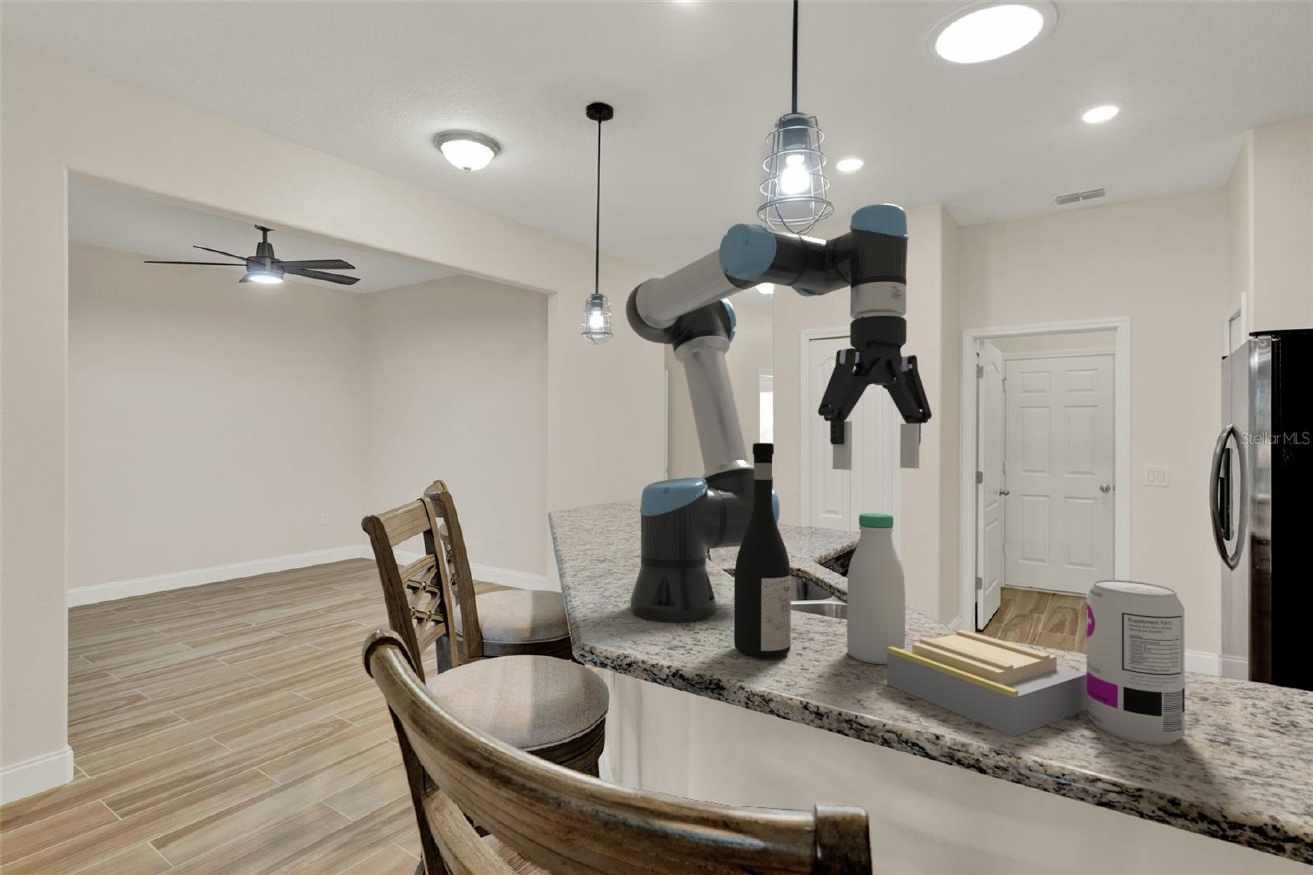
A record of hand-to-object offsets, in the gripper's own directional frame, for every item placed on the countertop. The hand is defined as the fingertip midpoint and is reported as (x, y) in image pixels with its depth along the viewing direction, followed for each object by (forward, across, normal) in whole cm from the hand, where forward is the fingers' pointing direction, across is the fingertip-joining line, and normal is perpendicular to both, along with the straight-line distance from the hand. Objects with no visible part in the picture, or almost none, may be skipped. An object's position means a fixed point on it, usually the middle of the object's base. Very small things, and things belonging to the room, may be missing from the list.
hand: (877, 469), depth 89 cm
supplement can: (+26, +6, -29) cm, 40 cm away
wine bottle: (+27, -13, +9) cm, 31 cm away
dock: (+26, 0, -16) cm, 31 cm away
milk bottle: (+27, 0, 0) cm, 27 cm away
